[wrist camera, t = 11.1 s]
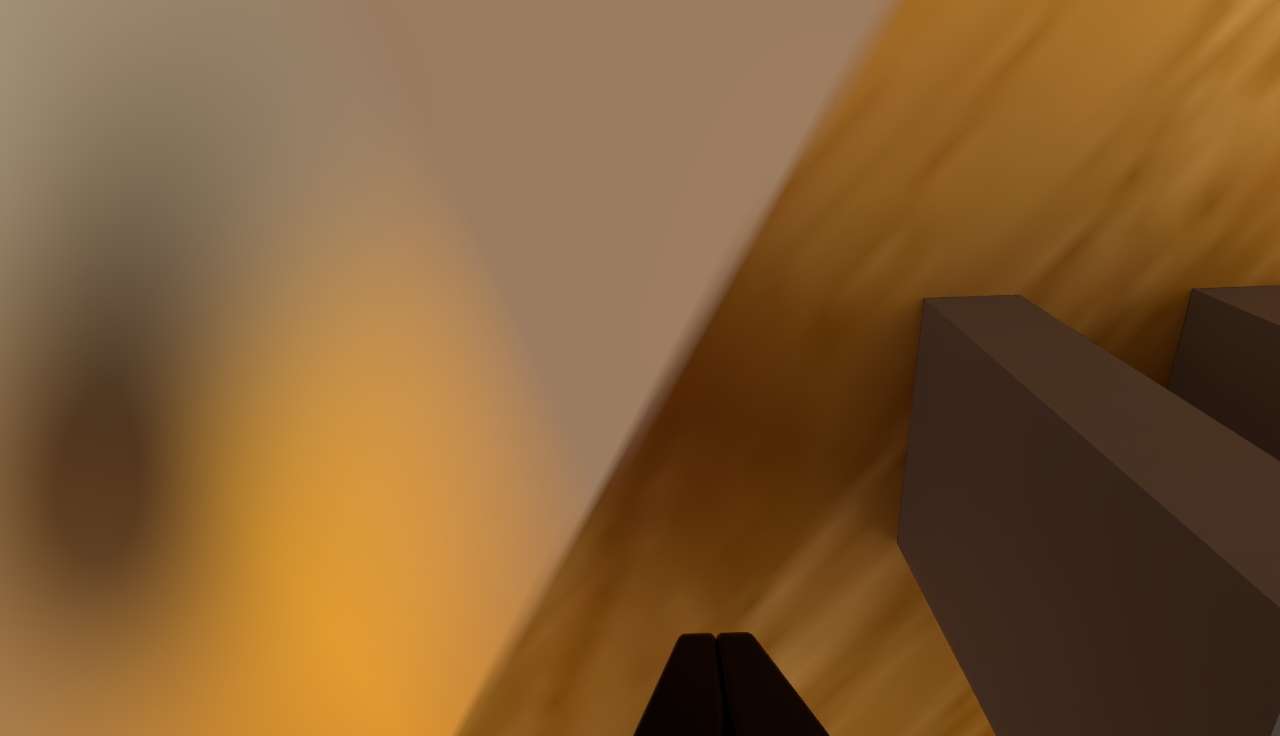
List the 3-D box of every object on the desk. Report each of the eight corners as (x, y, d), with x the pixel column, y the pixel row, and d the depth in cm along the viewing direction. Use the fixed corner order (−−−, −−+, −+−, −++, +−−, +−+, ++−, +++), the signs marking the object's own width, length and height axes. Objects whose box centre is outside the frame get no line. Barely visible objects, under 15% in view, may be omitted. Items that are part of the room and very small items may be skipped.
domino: (979, 540, 15) (1321, 1037, 7) (897, 542, 15) (1153, 1040, 7) (1019, 294, 13) (1542, 629, 5) (923, 298, 13) (1311, 634, 5)
